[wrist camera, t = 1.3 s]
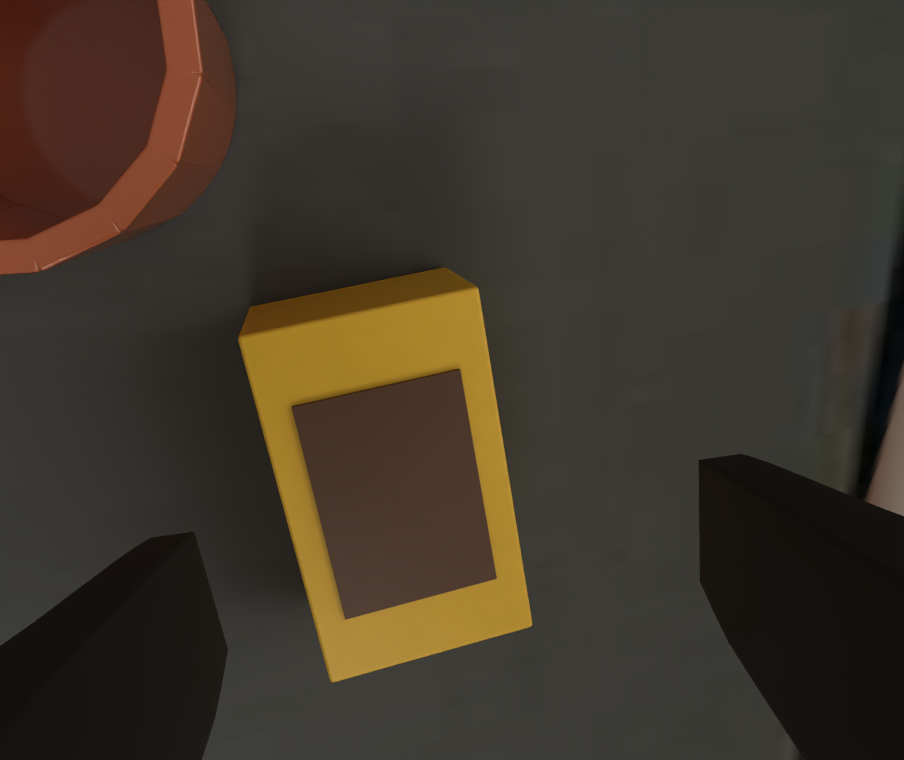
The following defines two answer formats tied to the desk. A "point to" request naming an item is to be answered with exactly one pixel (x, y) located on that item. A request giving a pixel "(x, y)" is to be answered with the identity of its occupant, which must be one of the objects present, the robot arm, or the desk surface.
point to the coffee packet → (390, 466)
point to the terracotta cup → (105, 121)
